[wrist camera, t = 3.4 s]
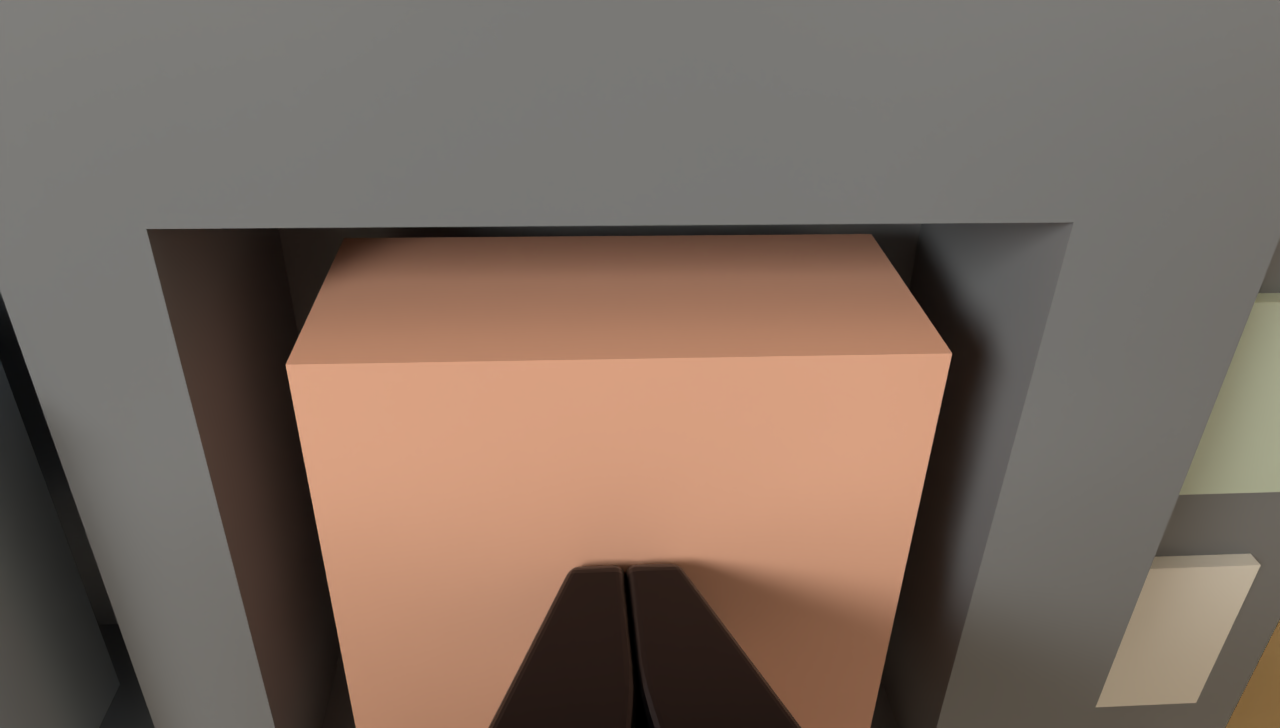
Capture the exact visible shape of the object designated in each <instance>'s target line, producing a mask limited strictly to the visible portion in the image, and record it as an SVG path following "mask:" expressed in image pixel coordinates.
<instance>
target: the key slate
mask: <svg viewBox="0 0 1280 728" xmlns="http://www.w3.org/2000/svg"><path fill="white" fill-rule="evenodd" d="M119 685H120V683H119V680H118V678H117V675H116V672H115V669H114V667H113V664H112V661H111V659H110V656H109V653H108V650H107V648H106V645H105V642H104V640H103V637H102V634H101V631H100V629H99V626H98V623H97V621H96V618H95V615H94V613H93V610H92V607H91V604H90V602H89V599H88V596H87V594H86V591H85V588H84V585H83V583H82V580H81V577H80V575H79V572H78V569H77V566H76V564H75V561H74V558H73V556H72V553H71V550H70V547H69V545H68V542H67V539H66V537H65V534H64V531H63V529H62V526H61V523H60V520H59V518H58V515H57V512H56V510H55V507H54V504H53V501H52V499H51V496H50V493H49V491H48V488H47V485H46V482H45V480H44V477H43V474H42V472H41V469H40V466H39V464H38V461H37V458H36V455H35V453H34V450H33V447H32V445H31V442H30V439H29V436H28V434H27V431H26V428H25V426H24V423H23V420H22V417H21V415H20V412H19V409H18V407H17V404H16V401H15V399H14V396H13V393H12V390H11V388H10V385H9V382H8V380H7V377H6V374H5V371H4V369H3V366H2V363H1V361H0V728H99V727H100V725H101V723H102V721H103V719H104V717H105V714H106V712H107V710H108V708H109V706H110V704H111V702H112V700H113V698H114V696H115V694H116V692H117V690H118V687H119Z"/></svg>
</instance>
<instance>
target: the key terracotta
mask: <svg viewBox="0 0 1280 728" xmlns="http://www.w3.org/2000/svg"><path fill="white" fill-rule="evenodd" d="M951 357H952V352H951V351H950V349H949V348H948V346H947V345H946V343H945V342H944V341H943V339H942V338H941V336H940V335H939V333H938V332H937V330H936V329H935V327H934V326H933V324H932V323H931V321H930V320H929V318H928V317H927V315H926V314H925V312H924V311H923V310H922V308H921V307H920V305H919V304H918V302H917V301H916V299H915V298H914V296H913V295H912V293H911V292H910V290H909V289H908V287H907V286H906V284H905V283H904V282H903V280H902V279H901V277H900V276H899V274H898V273H897V271H896V270H895V268H894V267H893V265H892V264H891V262H890V261H889V259H888V258H887V256H886V255H885V253H884V252H883V251H882V249H881V248H880V246H879V245H878V243H877V242H876V240H875V239H874V237H873V236H872V234H804V235H676V236H549V237H421V238H344V239H343V241H342V244H341V246H340V248H339V250H338V252H337V254H336V257H335V259H334V261H333V263H332V265H331V267H330V270H329V272H328V274H327V276H326V278H325V280H324V283H323V285H322V287H321V289H320V291H319V293H318V296H317V298H316V300H315V302H314V304H313V306H312V309H311V311H310V313H309V315H308V317H307V319H306V322H305V324H304V326H303V328H302V330H301V332H300V334H299V337H298V339H297V341H296V343H295V345H294V347H293V350H292V352H291V354H290V356H289V358H288V360H287V363H286V370H287V375H288V380H289V385H290V390H291V396H292V401H293V406H294V411H295V416H296V421H297V427H298V432H299V437H300V442H301V447H302V453H303V458H304V463H305V468H306V473H307V478H308V484H309V489H310V494H311V499H312V504H313V509H314V515H315V520H316V525H317V530H318V535H319V540H320V546H321V551H322V556H323V561H324V566H325V571H326V577H327V582H328V587H329V592H330V597H331V603H332V608H333V613H334V618H335V623H336V628H337V634H338V639H339V644H340V649H341V654H342V659H343V665H344V670H345V675H346V680H347V685H348V690H349V696H350V701H351V706H352V711H353V716H354V721H355V727H356V728H488V727H489V725H490V723H491V721H492V719H493V718H494V716H495V714H496V712H497V710H498V708H499V706H500V704H501V702H502V700H503V698H504V696H505V694H506V692H507V690H508V688H509V686H510V684H511V682H512V680H513V678H514V676H515V675H516V673H517V671H518V669H519V667H520V665H521V663H522V661H523V659H524V657H525V655H526V653H527V651H528V649H529V647H530V645H531V643H532V641H533V639H534V637H535V635H536V633H537V632H538V630H539V628H540V626H541V624H542V622H543V620H544V618H545V616H546V614H547V612H548V610H549V608H550V606H551V604H552V602H553V600H554V598H555V596H556V594H557V592H558V590H559V588H560V587H561V585H562V583H563V581H564V579H565V577H566V575H567V574H568V572H569V571H570V570H571V569H573V568H575V567H581V566H610V565H615V566H619V567H620V568H622V570H623V571H624V574H625V572H626V571H627V569H628V568H629V567H630V566H631V565H641V564H675V565H678V566H679V567H681V568H682V569H683V571H684V572H685V573H686V574H687V576H688V577H689V578H690V580H691V581H692V582H693V584H694V585H695V586H696V588H697V589H698V590H699V592H700V593H701V594H702V596H703V597H704V598H705V600H706V601H707V602H708V604H709V605H710V606H711V608H712V609H713V610H714V612H715V613H716V614H717V616H718V617H719V618H720V620H721V621H722V622H723V624H724V625H725V626H726V628H727V629H728V630H729V632H730V633H731V634H732V636H733V637H734V638H735V640H736V641H737V642H738V644H739V645H740V646H741V648H742V649H743V650H744V652H745V653H746V654H747V656H748V657H749V658H750V660H751V661H752V662H753V664H754V665H755V666H756V668H757V669H758V670H759V672H760V673H761V674H762V676H763V677H764V678H765V680H766V681H767V682H768V684H769V685H770V686H771V688H772V689H773V690H774V692H775V693H776V694H777V696H778V697H779V698H780V700H781V701H782V702H783V704H784V705H785V706H786V708H787V709H788V710H789V712H790V713H791V714H792V716H793V717H794V718H795V720H796V721H797V722H798V724H799V725H800V726H801V728H870V727H871V723H872V718H873V713H874V709H875V704H876V700H877V695H878V691H879V686H880V681H881V677H882V672H883V668H884V663H885V659H886V654H887V649H888V645H889V640H890V636H891V631H892V627H893V622H894V617H895V613H896V608H897V604H898V599H899V595H900V590H901V585H902V581H903V576H904V572H905V567H906V563H907V558H908V553H909V549H910V544H911V540H912V535H913V531H914V526H915V521H916V517H917V512H918V508H919V503H920V499H921V494H922V489H923V485H924V480H925V476H926V471H927V466H928V462H929V457H930V453H931V448H932V444H933V439H934V434H935V430H936V425H937V421H938V416H939V412H940V407H941V402H942V398H943V393H944V389H945V384H946V380H947V375H948V370H949V366H950V361H951Z"/></svg>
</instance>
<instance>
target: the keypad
mask: <svg viewBox="0 0 1280 728" xmlns="http://www.w3.org/2000/svg"><path fill="white" fill-rule="evenodd" d="M804 234H872V236H873V237H874V239H875V240H876V242H877V243H878V245H879V246H880V248H881V249H882V251H883V252H884V253H885V255H886V256H887V258H888V259H889V261H890V262H891V264H892V265H893V267H894V268H895V270H896V271H897V273H898V274H899V276H900V277H901V279H902V280H903V282H904V283H905V284H906V286H907V287H908V289H909V290H910V292H911V293H912V295H913V296H914V298H915V299H916V301H917V302H918V304H919V305H920V307H921V308H922V310H923V311H924V312H925V314H926V315H927V317H928V318H929V320H930V321H931V323H932V324H933V326H934V327H935V329H936V330H937V332H938V333H939V335H940V336H941V338H942V339H943V341H944V342H945V343H946V345H947V346H948V348H949V349H950V351H951V352H952V357H951V361H950V366H949V370H948V375H947V380H946V384H945V389H944V393H943V398H942V402H941V407H940V412H939V416H938V421H937V425H936V430H935V434H934V439H933V444H932V448H931V453H930V457H929V462H928V466H927V471H926V476H925V480H924V485H923V489H922V494H921V499H920V503H919V508H918V512H917V517H916V521H915V526H914V531H913V535H912V540H911V544H910V549H909V553H908V558H907V563H906V567H905V572H904V576H903V581H902V585H901V590H900V595H899V599H898V604H897V608H896V613H895V617H894V622H893V627H892V631H891V636H890V640H889V645H888V649H887V654H886V659H885V663H884V668H883V672H882V677H881V681H880V686H879V691H878V695H877V700H876V704H875V709H874V713H873V718H872V723H871V727H870V728H1225V727H1226V725H1227V723H1228V721H1229V719H1230V717H1231V715H1232V713H1233V711H1234V709H1235V707H1236V706H1237V704H1238V702H1239V700H1240V698H1241V696H1242V694H1243V692H1244V690H1245V688H1246V686H1247V684H1248V682H1249V680H1250V678H1251V676H1252V674H1253V672H1254V670H1255V668H1256V666H1257V664H1258V662H1259V660H1260V658H1261V656H1262V654H1263V652H1264V650H1265V648H1266V646H1267V644H1268V642H1269V640H1270V638H1271V636H1272V634H1273V632H1274V630H1275V628H1276V626H1277V624H1278V622H1279V620H1280V0H0V361H1V363H2V366H3V369H4V371H5V374H6V377H7V380H8V382H9V385H10V388H11V390H12V393H13V396H14V399H15V401H16V404H17V407H18V409H19V412H20V415H21V417H22V420H23V423H24V426H25V428H26V431H27V434H28V436H29V439H30V442H31V445H32V447H33V450H34V453H35V455H36V458H37V461H38V464H39V466H40V469H41V472H42V474H43V477H44V480H45V482H46V485H47V488H48V491H49V493H50V496H51V499H52V501H53V504H54V507H55V510H56V512H57V515H58V518H59V520H60V523H61V526H62V529H63V531H64V534H65V537H66V539H67V542H68V545H69V547H70V550H71V553H72V556H73V558H74V561H75V564H76V566H77V569H78V572H79V575H80V577H81V580H82V583H83V585H84V588H85V591H86V594H87V596H88V599H89V602H90V604H91V607H92V610H93V613H94V615H95V618H96V621H97V623H98V626H99V629H100V631H101V634H102V637H103V640H104V642H105V645H106V648H107V650H108V653H109V656H110V659H111V661H112V664H113V667H114V669H115V672H116V675H117V678H118V680H119V683H120V685H119V687H118V690H117V692H116V694H115V696H114V698H113V700H112V702H111V704H110V706H109V708H108V710H107V712H106V714H105V717H104V719H103V721H102V723H101V725H100V727H99V728H356V727H355V721H354V716H353V711H352V706H351V701H350V696H349V690H348V685H347V680H346V675H345V670H344V665H343V659H342V654H341V649H340V644H339V639H338V634H337V628H336V623H335V618H334V613H333V608H332V603H331V597H330V592H329V587H328V582H327V577H326V571H325V566H324V561H323V556H322V551H321V546H320V540H319V535H318V530H317V525H316V520H315V515H314V509H313V504H312V499H311V494H310V489H309V484H308V478H307V473H306V468H305V463H304V458H303V453H302V447H301V442H300V437H299V432H298V427H297V421H296V416H295V411H294V406H293V401H292V396H291V390H290V385H289V380H288V375H287V370H286V363H287V360H288V358H289V356H290V354H291V352H292V350H293V347H294V345H295V343H296V341H297V339H298V337H299V334H300V332H301V330H302V328H303V326H304V324H305V322H306V319H307V317H308V315H309V313H310V311H311V309H312V306H313V304H314V302H315V300H316V298H317V296H318V293H319V291H320V289H321V287H322V285H323V283H324V280H325V278H326V276H327V274H328V272H329V270H330V267H331V265H332V263H333V261H334V259H335V257H336V254H337V252H338V250H339V248H340V246H341V244H342V241H343V239H344V238H421V237H549V236H676V235H804Z"/></svg>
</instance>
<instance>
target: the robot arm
mask: <svg viewBox="0 0 1280 728" xmlns="http://www.w3.org/2000/svg"><path fill="white" fill-rule="evenodd" d="M488 728H801V726H800V725H799V724H798V722H797V721H796V720H795V718H794V717H793V716H792V714H791V713H790V712H789V710H788V709H787V708H786V706H785V705H784V704H783V702H782V701H781V700H780V698H779V697H778V696H777V694H776V693H775V692H774V690H773V689H772V688H771V686H770V685H769V684H768V682H767V681H766V680H765V678H764V677H763V676H762V674H761V673H760V672H759V670H758V669H757V668H756V666H755V665H754V664H753V662H752V661H751V660H750V658H749V657H748V656H747V654H746V653H745V652H744V650H743V649H742V648H741V646H740V645H739V644H738V642H737V641H736V640H735V638H734V637H733V636H732V634H731V633H730V632H729V630H728V629H727V628H726V626H725V625H724V624H723V622H722V621H721V620H720V618H719V617H718V616H717V614H716V613H715V612H714V610H713V609H712V608H711V606H710V605H709V604H708V602H707V601H706V600H705V598H704V597H703V596H702V594H701V593H700V592H699V590H698V589H697V588H696V586H695V585H694V584H693V582H692V581H691V580H690V578H689V577H688V576H687V574H686V573H685V572H684V571H683V569H682V568H681V567H679V566H678V565H675V564H641V565H631V566H630V567H629V568H628V569H627V571H626V572H625V574H624V571H623V570H622V568H620V567H619V566H615V565H610V566H581V567H575V568H573V569H571V570H570V571H569V572H568V574H567V575H566V577H565V579H564V581H563V583H562V585H561V587H560V588H559V590H558V592H557V594H556V596H555V598H554V600H553V602H552V604H551V606H550V608H549V610H548V612H547V614H546V616H545V618H544V620H543V622H542V624H541V626H540V628H539V630H538V632H537V633H536V635H535V637H534V639H533V641H532V643H531V645H530V647H529V649H528V651H527V653H526V655H525V657H524V659H523V661H522V663H521V665H520V667H519V669H518V671H517V673H516V675H515V676H514V678H513V680H512V682H511V684H510V686H509V688H508V690H507V692H506V694H505V696H504V698H503V700H502V702H501V704H500V706H499V708H498V710H497V712H496V714H495V716H494V718H493V719H492V721H491V723H490V725H489V727H488Z"/></svg>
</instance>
